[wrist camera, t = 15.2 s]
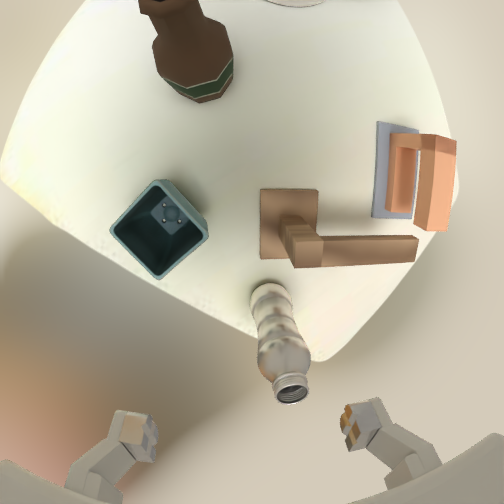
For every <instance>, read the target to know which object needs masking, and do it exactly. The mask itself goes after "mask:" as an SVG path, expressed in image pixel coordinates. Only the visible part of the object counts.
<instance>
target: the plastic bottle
mask: <svg viewBox="0 0 504 504" xmlns="http://www.w3.org/2000/svg"><path fill="white" fill-rule="evenodd" d="M250 310H251V313H252V316H253V318H254V320H255V323H256V327H257V330H258V354H257V355H258V356H257V363H258V368H259V370H260V372H261V374H262V375H263V376H264V377H265V378H266V379H267V380H269V381H270V382H271V383H272V388H273V391H274V394H275V398H276V400H277V401H278V402H279V403H281V404H286V405H291V404H296V403H299V402H301V401H303V400H304V399H305V398H306V397H307V396H308V394H309V388H308V385H307V378H306V376H305V375H306V373H307V371H308V369H309V367H310V362H311V354H310V351H309V349H308V347H307V345H306V343H305V341H304V340H303V338H302V336H301V335H300V333H299V331H298V328H297V326H296V324H295V321H294V317H293V312H292V300H291V297H290V295H289V294H288V292H287V291H286V290H285V288H283V287H282V286H280V285H278V284H275V283H267V284H263V285H261V286H259V287H258V288H256V289H255V291H254V292H253V293H252V296H251V300H250Z"/></svg>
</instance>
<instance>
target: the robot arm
mask: <svg viewBox="0 0 504 504" xmlns="http://www.w3.org/2000/svg"><path fill="white" fill-rule="evenodd" d="M268 1H270V2H273V3H276V4H280V5H285V6H293V7H306V6H312V5H316V4H319V3H321V2H323V1H325V0H268ZM344 410H345V413H343V414H342V415H341V418H340V427H341V430H342V433H343V434H345V435H346V436H347V437H346V439H345V442H346V445H347V448H348V451H349V452H351V451H355V450H359V449H363V448H366V449H367V450H368V451H369V452H371V453H372V454H373V455H374V456H376V457H377V458H378V459H379V460H381V461H382V462H383V463H385V464H386V465H387V466H388V467H390V468H391V469H392V471H391V472H390V473H389V474H388V475H387V476H386V477H385V478H384V480H385V483H386V486H387V489H388V490H387V491H385V492H382V493H380V494H376V495H374V496H371V497H368V498H365V499H361V500H358V501H355V502H352V503H348V504H504V436H503V435H500V434H497V433H492V434H490V435H488V436H487V437H485V438H484V439H483V440H481V441H480V442H478V443H477V444H475V445H474V446H472V447H471V448H470V449H468V450H466V451H465V452H463V453H462V454H460V455H458V456H457V457H455V458H453V459H452V460H450V461H448V462H447V463H445V464H443V465H442V463H441V461H440V459H439V457H438V455H437V453H436V451H435V449H434V447H433V445H432V444H431V443H429V442H427V441H425V440H424V439H422V438H420V437H418V436H417V435H415V434H413V433H411V432H410V431H408V430H406V429H404V428H403V427H401V426H399V425H398V424H396V423H395V424H393V423H392V421H391V419H390V417H389V415H388V413H387V411H386V409H385V407H384V405H383V403H382V401H381V399H380V398H379V397H378V398H377V397H376V398H372V399H369V400H364V401H360V402H356V403H352V404H347V405H346V406H345V408H344ZM152 421H153V418H152V416H151V415H150V414H142V413H134V412H128V411H121V410H117V411H116V412H115V414H114V417H113V420H112V423H111V427H110V430H109V433H108V437H107V439H103V440H102V441H100V442H99V443H98V444H97V445H96V446H94V447H93V448H92V449H90V450H89V451H88V452H87V453H85V454H84V455H83V456H81V457H80V458H79V459H78V460H76V461H75V462H74V463H72V464H71V466H70V470H69V473H68V477H67V480H66V483H65V487H62V486H59V485H57V484H55V483H52V482H50V481H48V480H46V479H44V478H42V477H40V476H38V475H36V474H34V473H32V472H30V471H28V470H26V469H24V468H23V467H21V466H19V465H17V464H16V463H14V462H12V461H10V460H3V461H0V504H122V500H123V493H122V492H121V491H119V490H118V489H117V488H116V487H114V485H115V484H116V482H118V481H119V480H120V478H121V477H122V476H123V475H124V474H125V473H126V472H127V471H128V470H129V469H130V468H131V466H133V464H134V463H135V462H136V460H137V461H144V462H152V463H154V461H155V454H156V450H155V448H154V447H153V446H154V445H155V444H156V443H157V442H158V429H157V426H156V424H155V423H153V422H152Z"/></svg>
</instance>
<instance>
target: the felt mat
mask: <svg viewBox="0 0 504 504" xmlns="http://www.w3.org/2000/svg"><path fill="white" fill-rule="evenodd" d="M390 133H412V134H419V130H416V129H411V128H407V127H403V126H398V125H394V124H389V123H384V122H377V144H376V167H375V182H374V194H373V205H372V214H371V217H372V218H396V219H412V214H413V206H414V198H415V189H416V178H417V165H418V150H417V151H416V168H415V181H414V191H413V200H412V208H411V213H396V212H389V211H388V210H386V209H385V201H386V191H387V179H388V164H389V141H390Z"/></svg>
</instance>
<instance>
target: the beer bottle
mask: <svg viewBox="0 0 504 504" xmlns="http://www.w3.org/2000/svg"><path fill="white" fill-rule="evenodd" d="M138 2H139V8H140V13H141V14H145V15H148V16H149V17H150V19H151V21H152V23H153V25H154V27H155V29H156V31H157V33H158V36H157V37H156V38H155V40H154V41H153V45H152V49H153V54H154V58H155V63H156V67H157V71H158V73H159V74H160V76H161V77H162V78H163V79H164V80H165V81H166V82H167V83H168V84H169V85H171V86H172V87H173V88H174V89H175V90H176V91H177V92H178V93H179V94H181V95H183V96H185V97H187V98H189V99H192V100H194V101H196V102H198V103H202V102H206V101H209V100H213V99H217V98H221V96H222V95H223V93H224V92H225V90H226V89H227V87H228V86H229V84H230V83H231V81H232V79H233V52H232V48H231V45H230V41H229V38H228V35H227V31H226V28H225V26H224V25H223V24H221V23H220V22H217V21H215V20H212V19H210V18H207V17H205V16H204V15H203V12H202V9H201V7H200V4H199V1H198V0H138Z"/></svg>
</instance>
